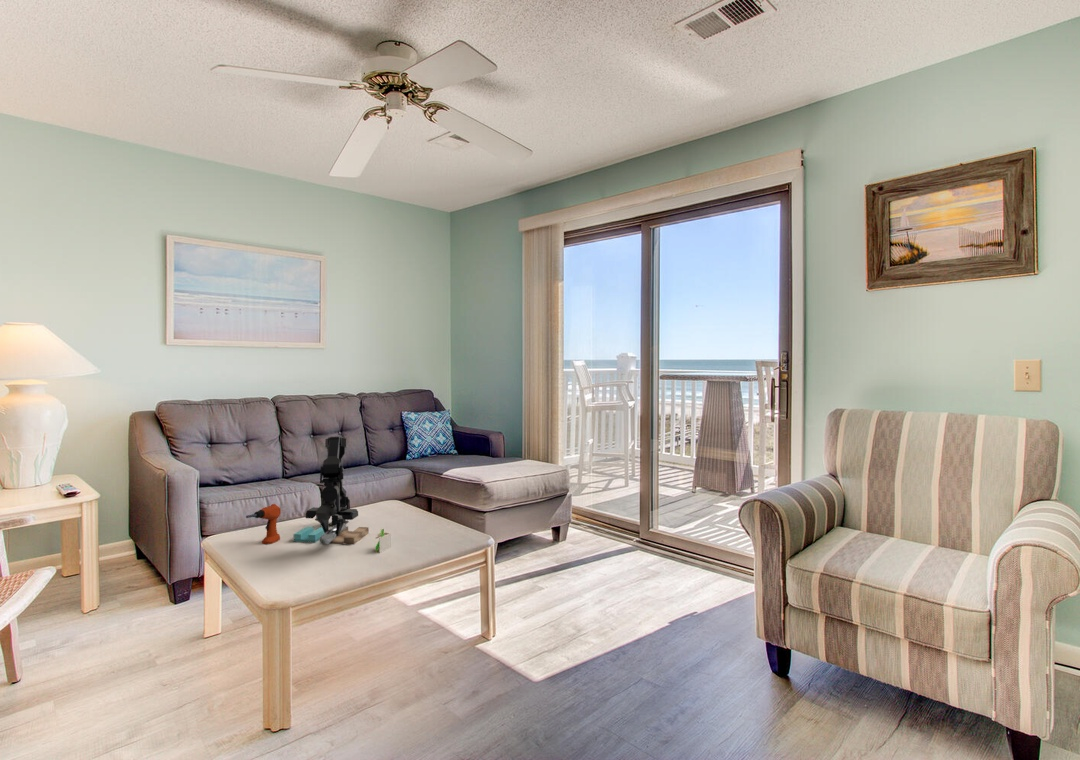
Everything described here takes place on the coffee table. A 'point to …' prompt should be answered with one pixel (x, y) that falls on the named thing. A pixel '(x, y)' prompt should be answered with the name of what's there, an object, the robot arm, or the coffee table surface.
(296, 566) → the coffee table surface
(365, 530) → the wooden channel block
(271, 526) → the toy drill
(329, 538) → the axle
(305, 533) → the v block
